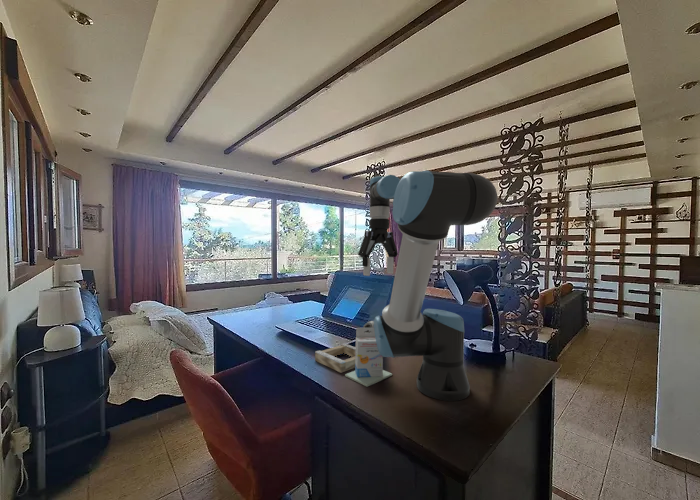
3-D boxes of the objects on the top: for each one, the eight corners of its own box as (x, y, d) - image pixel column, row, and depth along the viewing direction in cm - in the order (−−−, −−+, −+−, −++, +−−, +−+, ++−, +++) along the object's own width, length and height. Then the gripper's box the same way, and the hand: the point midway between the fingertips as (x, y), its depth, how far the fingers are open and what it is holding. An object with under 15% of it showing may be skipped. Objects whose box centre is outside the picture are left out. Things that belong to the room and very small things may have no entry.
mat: (392, 375, 100) (392, 373, 100) (367, 386, 91) (367, 384, 91) (370, 366, 107) (370, 364, 107) (344, 376, 99) (344, 374, 99)
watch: (360, 348, 126) (360, 322, 126) (372, 344, 131) (373, 318, 131) (370, 351, 122) (370, 324, 122) (383, 347, 127) (383, 321, 127)
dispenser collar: (370, 361, 111) (370, 352, 111) (341, 372, 101) (341, 362, 101) (344, 351, 122) (344, 343, 122) (315, 360, 112) (315, 351, 112)
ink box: (357, 378, 96) (357, 331, 96) (354, 371, 101) (355, 327, 101) (383, 376, 97) (383, 331, 97) (379, 370, 102) (380, 327, 102)
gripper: (392, 221, 126) (391, 271, 126) (348, 216, 109) (348, 275, 109) (407, 220, 121) (406, 273, 121) (363, 215, 103) (363, 277, 104)
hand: (378, 274), depth 115 cm, fingers open, 13 cm apart
